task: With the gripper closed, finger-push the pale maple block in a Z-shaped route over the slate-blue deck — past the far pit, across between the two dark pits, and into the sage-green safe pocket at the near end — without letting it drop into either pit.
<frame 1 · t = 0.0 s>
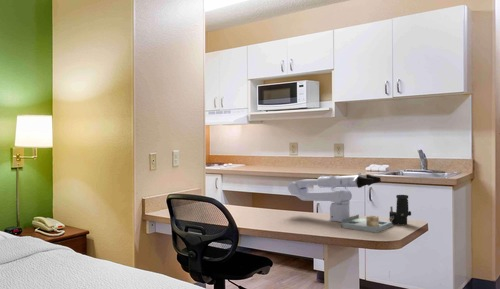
hand: (376, 180, 197), 22 cm above the table, tool horizontal, fingers open, 7 cm apart
board: (366, 226, 196), on the table
block: (372, 225, 189), point 2 cm above the table, touching board
scope: (400, 224, 200), on the table
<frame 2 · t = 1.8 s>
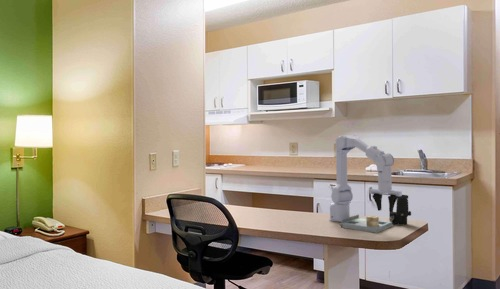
hand: (385, 210, 185), 9 cm above the table, tool pointing down, fingers open, 5 cm apart
nothing on the table moved.
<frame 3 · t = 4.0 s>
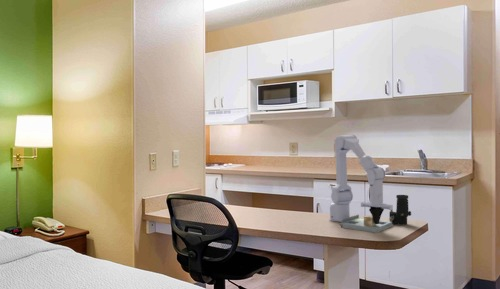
hand: (376, 223, 188), 3 cm above the table, tool pointing down, fingers closed
block: (370, 224, 190), point 2 cm above the table, touching gripper
everything else where it was.
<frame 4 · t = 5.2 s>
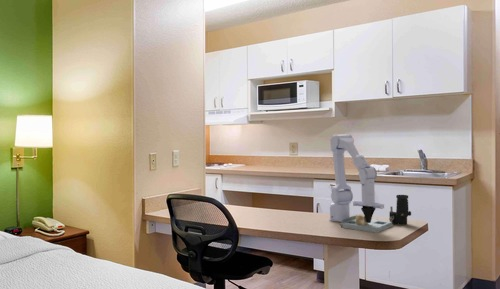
hand: (368, 222, 190), 3 cm above the table, tool pointing down, fingers closed
block: (362, 223, 193), point 2 cm above the table, touching gripper, board
everything else where it was.
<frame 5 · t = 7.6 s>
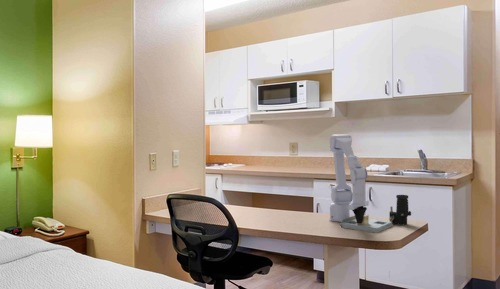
hand: (359, 222, 190), 3 cm above the table, tool pointing down, fingers closed
block: (362, 223, 193), point 2 cm above the table, touching gripper
everything else where it was.
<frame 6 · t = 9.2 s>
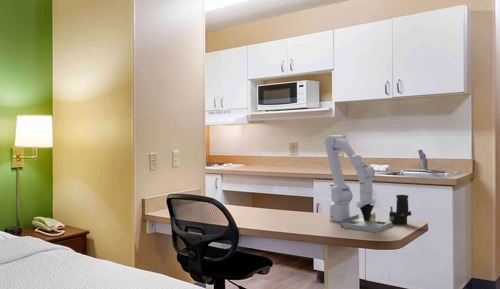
hand: (366, 220, 195), 3 cm above the table, tool pointing down, fingers closed
block: (369, 221, 198), point 2 cm above the table, touching gripper, board
everything else where it was.
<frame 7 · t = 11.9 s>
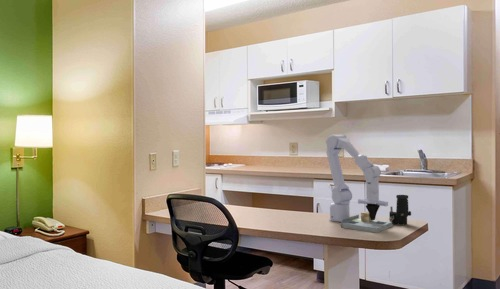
hand: (373, 219, 196), 3 cm above the table, tool pointing down, fingers closed
block: (366, 220, 199), point 2 cm above the table, touching gripper
everything else where it was.
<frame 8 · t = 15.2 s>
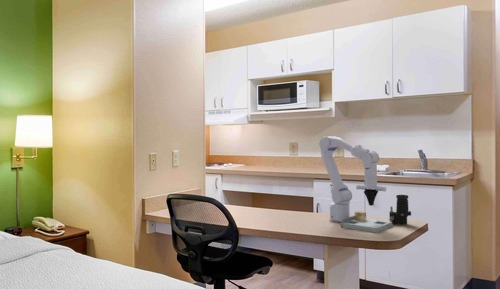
hand: (371, 205, 197), 10 cm above the table, tool pointing down, fingers closed
block: (360, 219, 201), point 2 cm above the table, touching board
everything else where it was.
at the end: block 0.6 cm from the target spot, point 2.0 cm above the table; block tilted 0° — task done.
